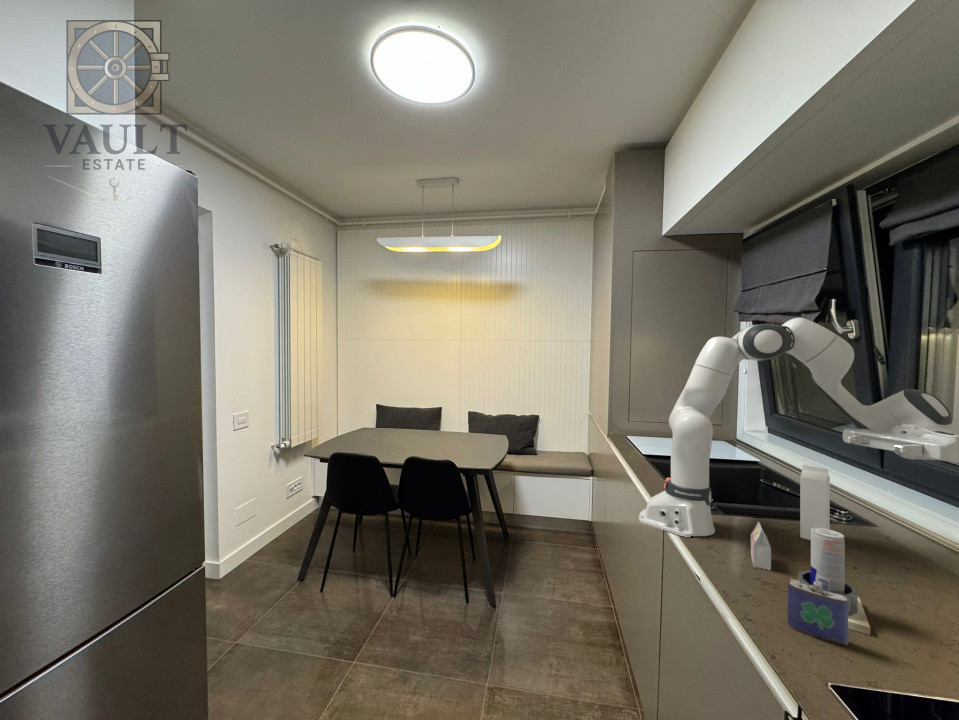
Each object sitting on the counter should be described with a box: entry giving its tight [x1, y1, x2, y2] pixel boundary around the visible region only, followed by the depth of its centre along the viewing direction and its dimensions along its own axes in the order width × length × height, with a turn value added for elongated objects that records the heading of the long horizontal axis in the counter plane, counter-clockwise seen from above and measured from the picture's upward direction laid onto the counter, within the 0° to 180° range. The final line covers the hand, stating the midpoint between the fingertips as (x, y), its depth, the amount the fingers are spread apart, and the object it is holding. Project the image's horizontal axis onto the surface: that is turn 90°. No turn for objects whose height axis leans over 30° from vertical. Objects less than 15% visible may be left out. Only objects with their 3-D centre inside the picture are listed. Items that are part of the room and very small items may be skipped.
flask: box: [787, 580, 850, 647], centre depth 76 cm, size 9×3×11 cm, turn 51°
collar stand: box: [790, 570, 871, 636], centre depth 84 cm, size 12×12×6 cm
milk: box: [799, 464, 831, 541], centre depth 116 cm, size 6×6×22 cm
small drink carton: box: [750, 521, 772, 571], centre depth 103 cm, size 4×7×10 cm, turn 150°
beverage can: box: [810, 528, 846, 594], centre depth 85 cm, size 6×6×15 cm
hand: (873, 444), depth 94 cm, fingers open, 8 cm apart
